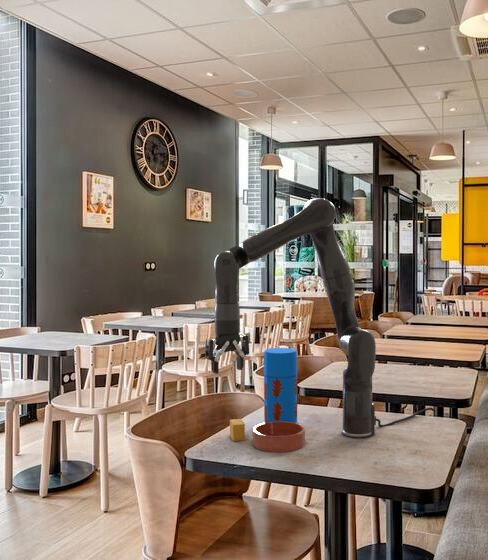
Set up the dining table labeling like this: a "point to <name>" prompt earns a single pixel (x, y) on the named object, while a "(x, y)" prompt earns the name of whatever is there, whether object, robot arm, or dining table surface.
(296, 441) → the bowl
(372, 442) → the dining table surface
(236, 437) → the sponge
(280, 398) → the thermos
